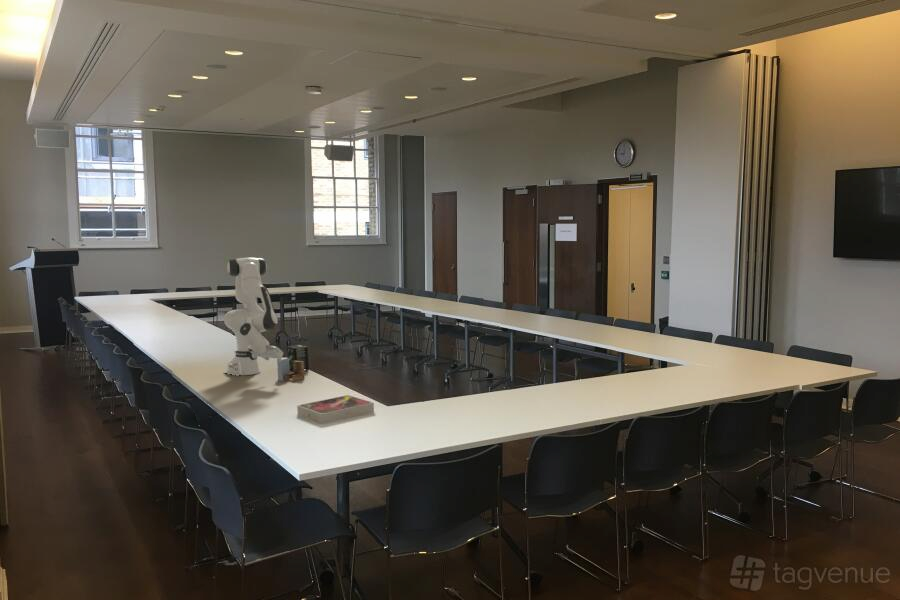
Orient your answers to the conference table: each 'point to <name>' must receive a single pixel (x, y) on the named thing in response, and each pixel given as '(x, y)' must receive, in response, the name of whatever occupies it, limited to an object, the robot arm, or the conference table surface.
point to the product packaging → (335, 409)
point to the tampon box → (298, 355)
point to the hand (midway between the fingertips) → (274, 359)
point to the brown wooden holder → (296, 371)
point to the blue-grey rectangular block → (283, 368)
